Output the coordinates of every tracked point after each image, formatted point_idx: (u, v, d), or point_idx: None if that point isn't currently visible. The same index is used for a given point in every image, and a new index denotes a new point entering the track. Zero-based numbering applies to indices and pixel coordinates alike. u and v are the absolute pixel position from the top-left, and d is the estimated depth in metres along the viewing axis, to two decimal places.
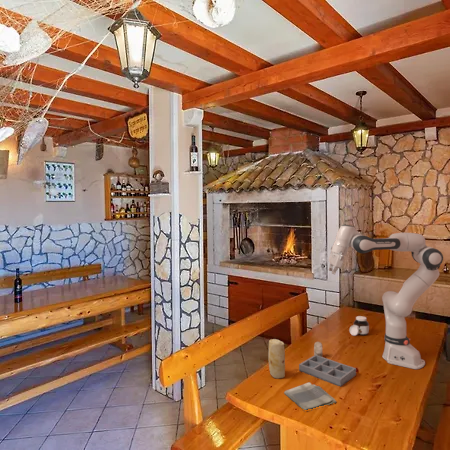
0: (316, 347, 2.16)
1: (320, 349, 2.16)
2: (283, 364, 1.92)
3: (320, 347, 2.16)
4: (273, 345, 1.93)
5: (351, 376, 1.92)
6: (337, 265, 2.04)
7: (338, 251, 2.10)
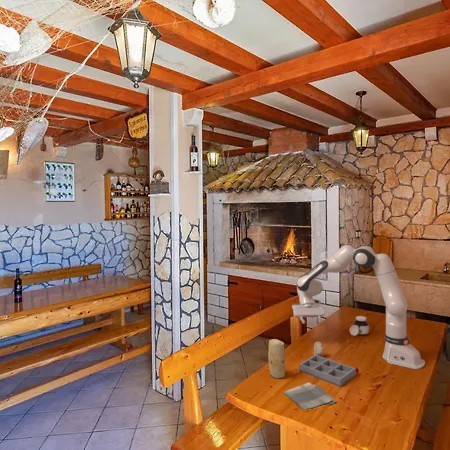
0: (316, 347, 2.16)
1: (320, 349, 2.16)
2: (283, 364, 1.92)
3: (320, 347, 2.16)
4: (273, 345, 1.93)
5: (351, 376, 1.92)
6: None
7: None
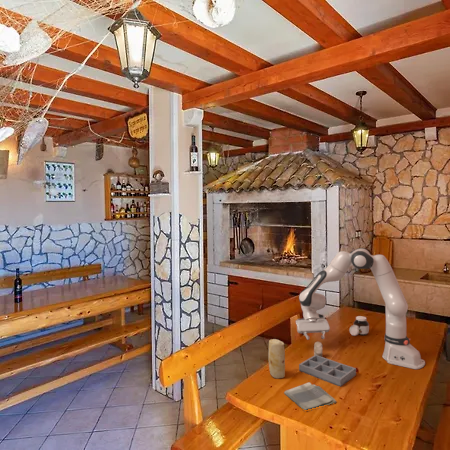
0: (316, 347, 2.16)
1: (320, 349, 2.16)
2: (283, 364, 1.92)
3: (320, 347, 2.16)
4: (273, 345, 1.93)
5: (351, 376, 1.92)
6: (297, 330, 2.26)
7: None
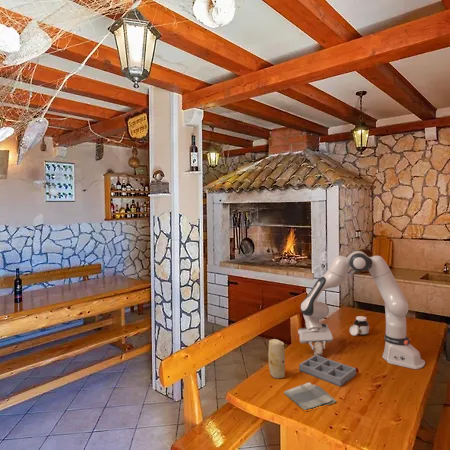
0: (316, 347, 2.16)
1: (320, 349, 2.16)
2: (283, 364, 1.92)
3: (320, 347, 2.16)
4: (273, 345, 1.93)
5: (351, 376, 1.92)
6: (300, 340, 2.21)
7: None
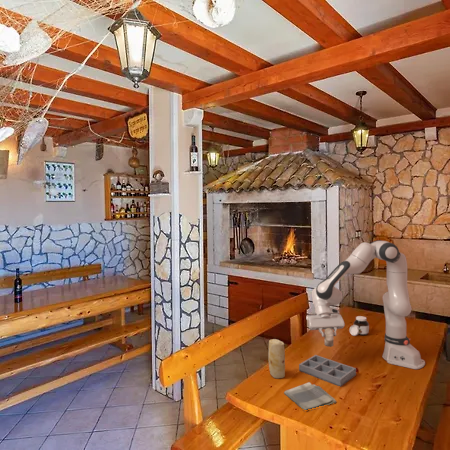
0: (327, 334, 2.01)
1: (331, 336, 2.00)
2: (283, 364, 1.92)
3: (331, 334, 2.00)
4: (273, 345, 1.93)
5: (351, 376, 1.92)
6: (309, 327, 2.06)
7: None
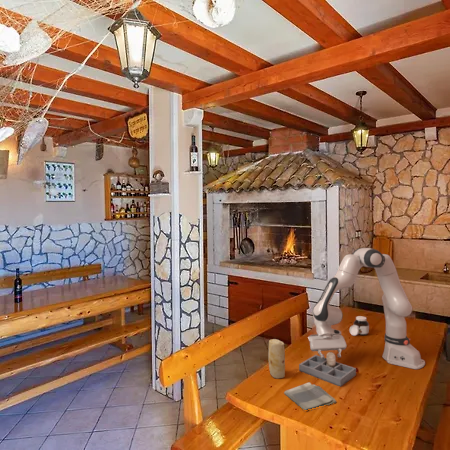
0: (329, 358, 1.99)
1: (333, 360, 1.99)
2: (283, 364, 1.92)
3: (333, 358, 1.99)
4: (273, 345, 1.93)
5: (351, 376, 1.92)
6: None
7: None
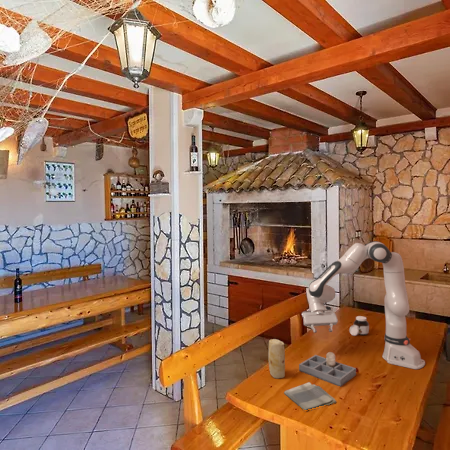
0: (328, 358, 1.99)
1: (333, 360, 1.99)
2: (283, 364, 1.92)
3: (333, 358, 1.99)
4: (273, 345, 1.93)
5: (351, 376, 1.92)
6: (304, 323, 2.16)
7: None
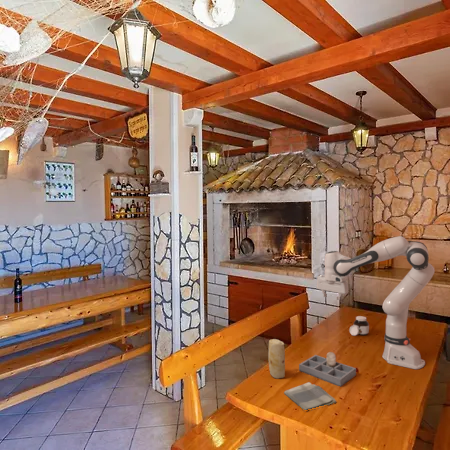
0: (329, 358, 1.99)
1: (333, 360, 1.99)
2: (283, 364, 1.92)
3: (333, 358, 1.99)
4: (273, 345, 1.93)
5: (351, 376, 1.92)
6: None
7: None
